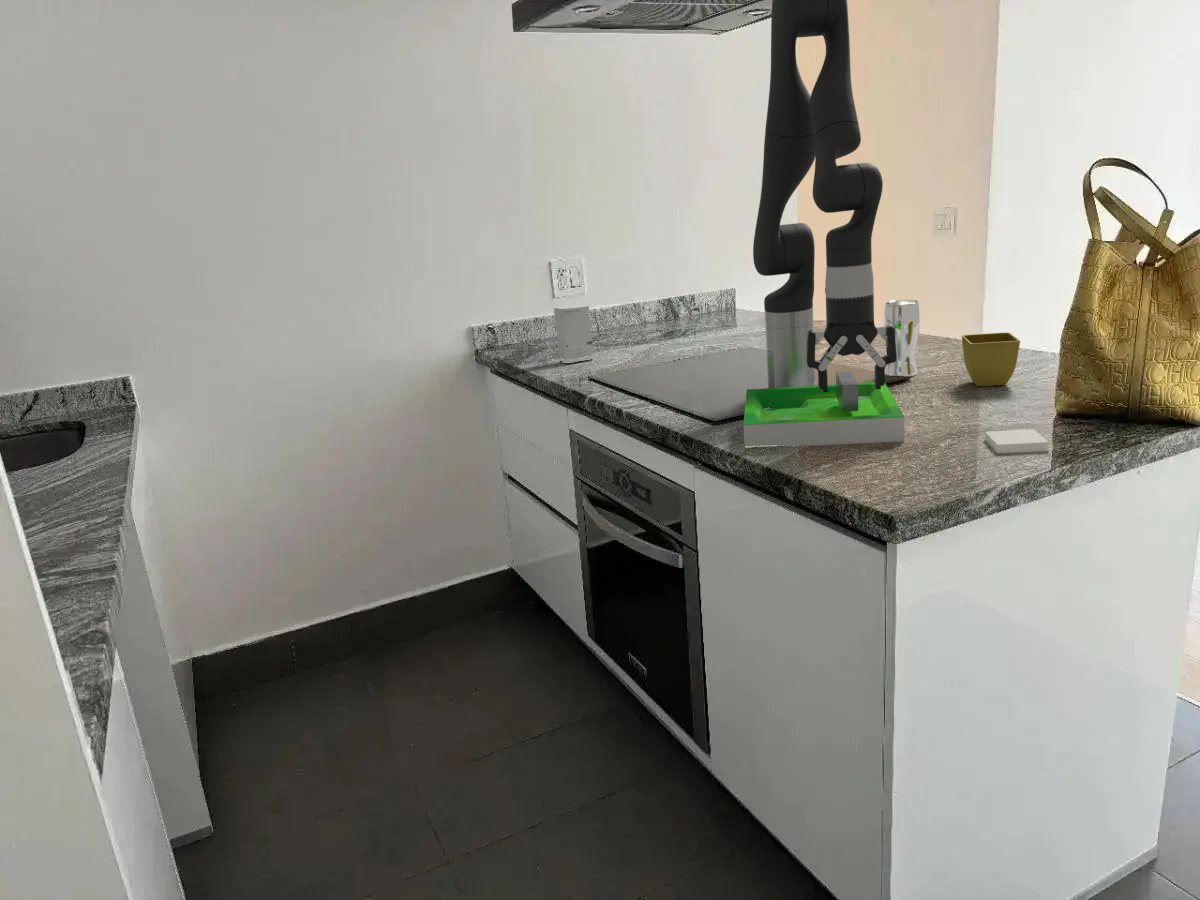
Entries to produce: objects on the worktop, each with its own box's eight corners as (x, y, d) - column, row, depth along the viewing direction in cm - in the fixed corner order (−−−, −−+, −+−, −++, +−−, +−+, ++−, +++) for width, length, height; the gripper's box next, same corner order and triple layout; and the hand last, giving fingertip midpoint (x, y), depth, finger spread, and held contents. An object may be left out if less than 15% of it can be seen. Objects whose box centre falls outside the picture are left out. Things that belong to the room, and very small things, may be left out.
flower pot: (1019, 387, 161) (1021, 340, 159) (969, 390, 163) (970, 343, 161) (1008, 377, 170) (1009, 331, 167) (960, 380, 172) (961, 335, 169)
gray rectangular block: (842, 411, 142) (842, 385, 141) (836, 397, 152) (835, 371, 151) (858, 410, 142) (858, 384, 141) (851, 396, 151) (850, 371, 150)
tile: (997, 444, 127) (1048, 442, 126) (985, 431, 134) (1033, 429, 132) (997, 456, 127) (1048, 453, 126) (984, 442, 134) (1033, 440, 133)
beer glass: (921, 370, 183) (921, 299, 179) (917, 377, 177) (918, 304, 173) (886, 370, 186) (886, 300, 182) (882, 378, 180) (881, 305, 176)
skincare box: (566, 365, 231) (559, 309, 227) (558, 362, 236) (552, 307, 232) (595, 360, 234) (589, 304, 230) (586, 357, 239) (581, 303, 235)
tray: (904, 446, 138) (904, 416, 136) (745, 453, 143) (743, 424, 141) (884, 407, 161) (884, 381, 160) (748, 414, 166) (746, 389, 165)
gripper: (805, 299, 139) (809, 397, 143) (898, 292, 136) (899, 392, 141) (803, 293, 146) (806, 387, 150) (891, 286, 143) (892, 382, 148)
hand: (851, 389), depth 145 cm, fingers open, 8 cm apart
